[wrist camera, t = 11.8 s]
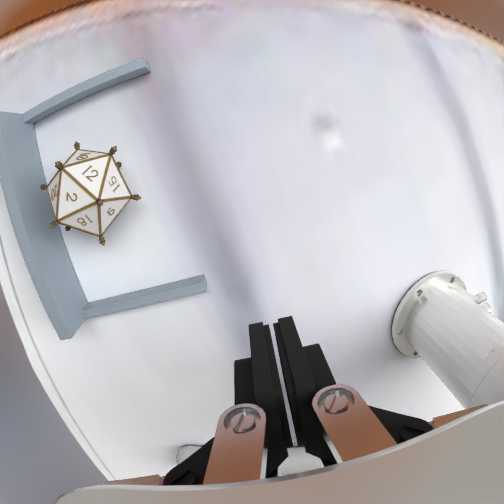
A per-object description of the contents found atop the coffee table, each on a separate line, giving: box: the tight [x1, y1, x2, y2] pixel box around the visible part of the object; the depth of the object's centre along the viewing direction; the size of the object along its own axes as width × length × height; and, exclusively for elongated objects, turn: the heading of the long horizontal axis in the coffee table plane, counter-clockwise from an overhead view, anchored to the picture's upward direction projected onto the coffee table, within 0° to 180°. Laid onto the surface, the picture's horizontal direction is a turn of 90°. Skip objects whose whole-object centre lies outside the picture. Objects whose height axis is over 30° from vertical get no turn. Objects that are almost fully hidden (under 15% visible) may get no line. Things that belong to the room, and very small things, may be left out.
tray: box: [0, 58, 207, 340], centre depth 25 cm, size 16×23×6 cm
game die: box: [39, 142, 141, 246], centre depth 24 cm, size 9×8×10 cm
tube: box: [176, 445, 321, 475], centre depth 39 cm, size 5×5×25 cm
